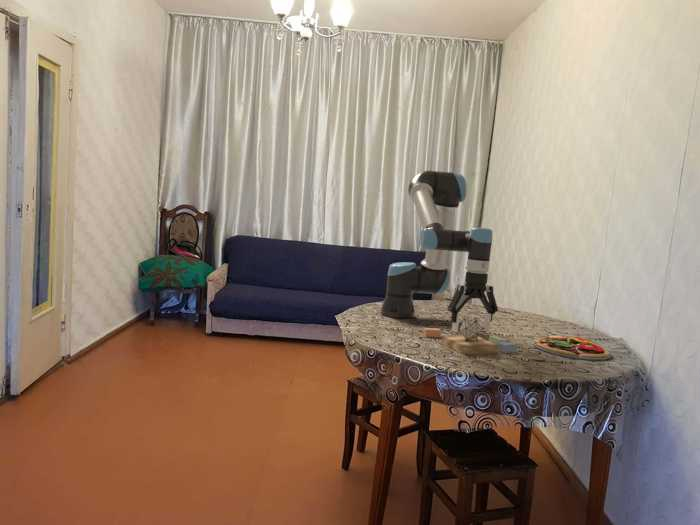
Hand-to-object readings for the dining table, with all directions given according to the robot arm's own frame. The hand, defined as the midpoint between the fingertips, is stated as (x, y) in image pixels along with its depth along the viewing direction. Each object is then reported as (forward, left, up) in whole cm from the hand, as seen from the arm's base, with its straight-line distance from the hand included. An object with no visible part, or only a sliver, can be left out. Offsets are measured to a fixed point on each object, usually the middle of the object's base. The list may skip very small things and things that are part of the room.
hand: (470, 331), depth 203 cm
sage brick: (-3, +15, -6) cm, 17 cm away
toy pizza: (+7, +42, -7) cm, 43 cm away
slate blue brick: (+5, +13, -6) cm, 15 cm away
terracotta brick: (-18, -4, -6) cm, 20 cm away
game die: (0, 0, -3) cm, 3 cm away
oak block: (0, 0, -6) cm, 6 cm away
